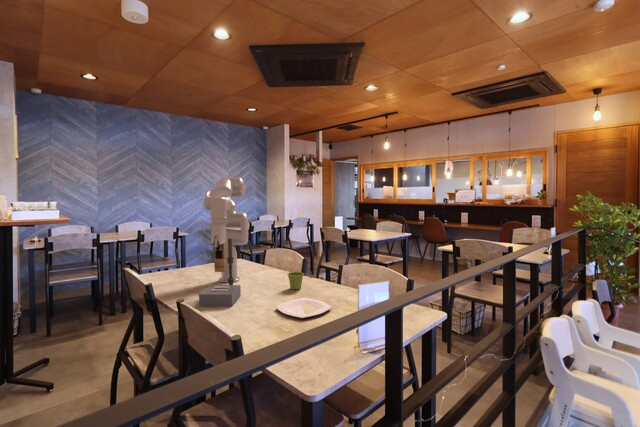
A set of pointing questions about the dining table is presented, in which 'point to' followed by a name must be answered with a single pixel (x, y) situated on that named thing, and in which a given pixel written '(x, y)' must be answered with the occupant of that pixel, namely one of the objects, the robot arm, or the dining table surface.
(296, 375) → the dining table surface
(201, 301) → the grey slotted base block
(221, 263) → the tan upright bar
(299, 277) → the plant pot
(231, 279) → the candlestick holder
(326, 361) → the dining table surface
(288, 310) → the plate
